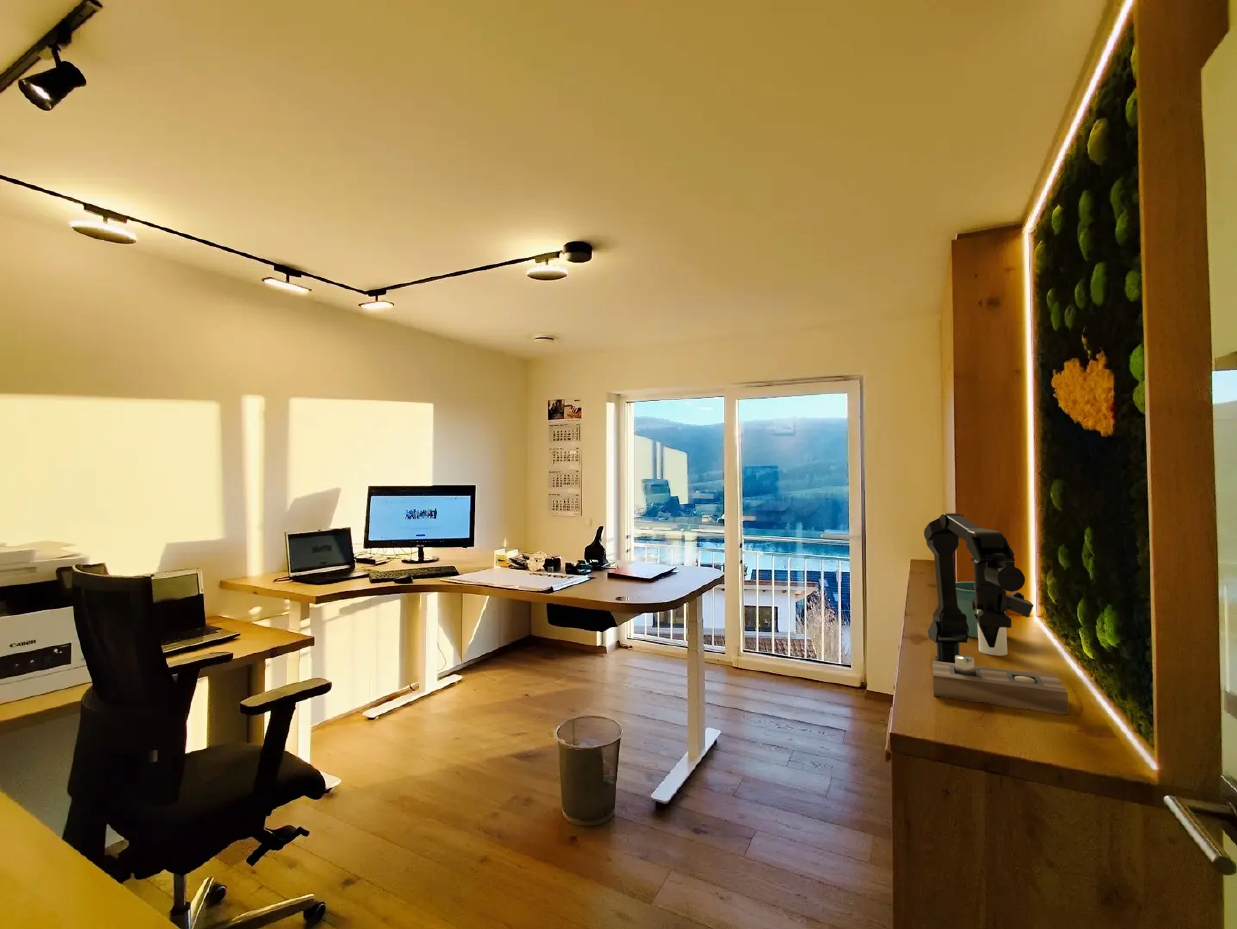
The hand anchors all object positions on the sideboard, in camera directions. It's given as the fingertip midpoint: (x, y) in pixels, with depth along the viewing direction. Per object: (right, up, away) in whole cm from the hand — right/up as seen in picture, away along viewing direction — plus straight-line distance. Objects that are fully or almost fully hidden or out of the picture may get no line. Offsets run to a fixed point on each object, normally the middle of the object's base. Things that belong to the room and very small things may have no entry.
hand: (991, 647), depth 134 cm
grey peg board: (+1, -12, -1) cm, 12 cm away
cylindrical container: (+22, -12, +32) cm, 41 cm away
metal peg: (-5, -8, +2) cm, 10 cm away
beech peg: (+6, -11, -4) cm, 13 cm away
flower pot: (+30, -13, +50) cm, 60 cm away
